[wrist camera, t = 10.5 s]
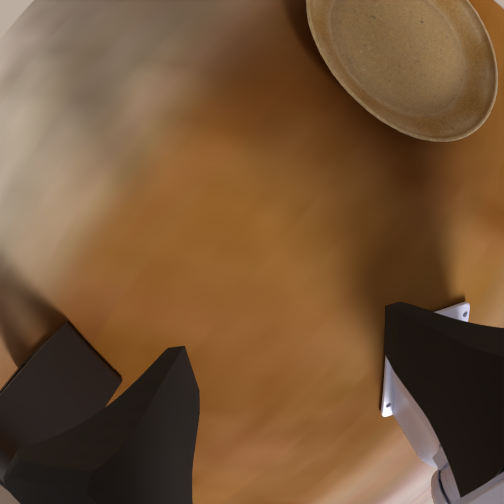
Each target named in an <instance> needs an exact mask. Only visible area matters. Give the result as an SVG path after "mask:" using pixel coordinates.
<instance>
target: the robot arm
mask: <svg viewBox="0 0 504 504" xmlns="http://www.w3.org/2000/svg"><path fill="white" fill-rule="evenodd" d="M469 309H470V305H469V303H467V302H462V303H459V304H456V305H453V306H450V307H448V308H445V309H442V310H439V311H436V312H432V311H429V310H426V309H423V308H420V307H417V306H414V305H410V304H407V303H402V302H398V303H394V304H390V305H387V306H385V340H384V353H385V370H384V384H383V396H382V406H381V414H382V416H383V417H386V416H390V415H392V414H393V415H394V417H395V419H396V420H397V422H398V424H399V425H400V427H401V429H402V430H403V432H404V434H405V435H406V437H407V439H408V440H409V442H410V444H411V446H412V447H413V449H414V451H415V452H416V454H417V456H418V457H419V458H420V459H421V460H422V461H423V462H425V463H426V464H428V465H430V466H433V467H436V468H438V470H437V471H436V472H435V473H434V474H433V476H432V479H431V494H432V499H433V502H434V504H504V328H498V327H491V326H485V325H479V324H474V323H469V322H468V317H469ZM464 312H465V313H464ZM463 313H464V314H463ZM199 414H200V399H199V388H198V385H197V382H196V379H195V376H194V373H193V370H192V367H191V364H190V361H189V358H188V355H187V352H186V348H185V346H179V347H171V348H168V349H166V350H165V351H164V352H163V353H162V354H161V355H160V356H159V358H158V359H157V360H156V361H155V362H154V363H153V364H152V365H151V366H150V367H149V368H148V369H147V370H146V371H145V372H144V373H143V374H142V375H141V377H140V378H139V379H138V380H136V381H135V382H134V383H133V384H132V385H131V386H130V387H129V388H128V389H127V390H126V391H125V392H124V393H123V394H122V395H120V396H119V397H118V398H117V399H116V400H114V401H113V402H112V403H111V404H109V405H108V406H107V407H105V408H104V409H102V410H101V411H100V412H98V413H97V414H95V415H94V416H92V417H90V418H89V419H87V420H85V421H84V422H82V423H80V424H79V425H77V426H75V427H73V428H71V429H69V430H67V431H65V432H63V433H61V434H59V435H56V436H54V437H52V438H49V439H47V440H44V441H41V442H38V443H35V444H32V445H29V446H26V447H22V448H19V449H18V451H17V453H16V454H15V456H14V458H13V460H12V462H11V463H10V465H9V467H8V469H7V471H6V473H5V475H4V476H3V480H4V484H5V486H6V488H7V489H8V491H9V492H10V493H11V494H12V496H13V497H14V498H15V499H16V500H17V501H18V502H19V503H20V504H193V503H192V468H193V458H194V451H195V443H196V436H197V429H198V421H199Z"/></svg>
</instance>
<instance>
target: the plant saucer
mask: <svg viewBox="0 0 504 504" xmlns="http://www.w3.org/2000/svg"><path fill="white" fill-rule="evenodd" d="M306 10H307V18H308V23H309V27H310V30H311V33H312V36H313V39H314V41H315V43H316V46H317V48H318V50H319V52H320V54H321V56H322V57H323V59H324V61H325V63H326V64H327V66H328V67H329V69H330V70H331V72H332V73H333V75H334V76H335V77H336V79H337V80H338V81H339V83H340V84H341V85H342V86H343V87H344V88H345V90H346V91H347V92H348V93H349V94H350V95H351V96H352V97H353V98H354V99H355V100H356V101H357V102H358V103H359V104H360V105H362V106H363V107H364V108H365V109H366V110H367V111H368V112H370V113H371V114H372V115H374V116H375V117H376V118H378V119H379V120H380V121H382V122H384V123H385V124H387V125H389V126H390V127H392V128H394V129H396V130H398V131H400V132H402V133H404V134H406V135H409V136H412V137H414V138H418V139H422V140H427V141H433V142H450V141H456V140H459V139H462V138H465V137H467V136H469V135H470V134H472V133H473V132H475V131H476V130H477V129H478V128H479V127H480V126H481V125H482V124H483V123H484V122H485V121H486V119H487V118H488V116H489V114H490V112H491V110H492V108H493V105H494V102H495V98H496V94H497V85H498V71H497V63H496V57H495V52H494V49H493V45H492V42H491V39H490V37H489V35H488V32H487V30H486V28H485V26H484V24H483V22H482V20H481V18H480V17H479V15H478V13H477V12H476V10H475V9H474V7H473V6H472V4H471V3H470V2H469V0H306Z"/></svg>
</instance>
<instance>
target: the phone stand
mask: <svg viewBox="0 0 504 504" xmlns="http://www.w3.org/2000/svg"><path fill="white" fill-rule="evenodd" d="M121 382H122V379H121V378H120V377H119V376H118V375H117V374H116V373H115V372H114V371H113V370H112V369H111V368H110V367H109V366H108V365H107V364H106V363H105V362H104V361H103V360H102V359H101V358H100V357H99V356H98V355H97V354H96V353H95V351H94V350H93V349H92V348H91V347H90V346H89V345H88V344H87V343H86V342H85V341H84V340H83V339H82V337H81V336H80V335H79V334H78V333H77V332H76V331H75V330H74V328H73V327H72V326H71V325H70V324H69V323H68V322H66V323H65V324H64V325H62V326H61V327H60V328H59V329H58V330H57V331H56V332H55V333H54V334H53V335H52V336H51V337H50V338H49V339H47V340H46V341H45V342H44V343H43V344H42V345H41V346H40V347H39V348H38V349H37V350H36V351H35V352H34V353H33V354H32V355H31V356H30V357H29V358H28V359H27V360H26V361H25V362H24V363H23V364H22V365H21V366H20V367H19V368H18V369H17V370H16V371H15V372H14V374H13V375H12V376H11V377H10V378H9V380H8V381H7V382H6V383H5V385H4V386H3V387H2V389H1V390H0V485H1V486H2V487H4V488H5V489H6V490H7V491H8V489H7V488H6V486H5V484H4V480H3V476H4V475H5V473H6V471H7V469H8V467H9V465H10V463H11V462H12V460H13V458H14V456H15V454H16V453H17V451H18V449H19V448H22V447H26V446H29V445H32V444H35V443H38V442H41V441H44V440H47V439H49V438H52V437H54V436H56V435H59V434H61V433H63V432H65V431H67V430H69V429H71V428H73V427H75V426H77V425H79V424H80V423H82V422H84V421H85V420H87V419H89V418H90V417H92V416H94V415H95V414H97V413H98V412H100V411H101V410H102V409H104V408H105V407H106V405H107V403H108V402H109V400H110V399H111V397H112V396H113V394H114V393H115V391H116V390H117V388H118V387H119V385H120V384H121Z"/></svg>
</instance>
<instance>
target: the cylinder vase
mask: <svg viewBox="0 0 504 504" xmlns="http://www.w3.org/2000/svg"><path fill="white" fill-rule="evenodd" d="M0 504H20V503H19V502H18V501H17V500H16V499H15V498H14V497H13V496H12V494H11V493H10V492H9V491H7V490H6V489H5V488H4V487H2V486H1V485H0Z"/></svg>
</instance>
